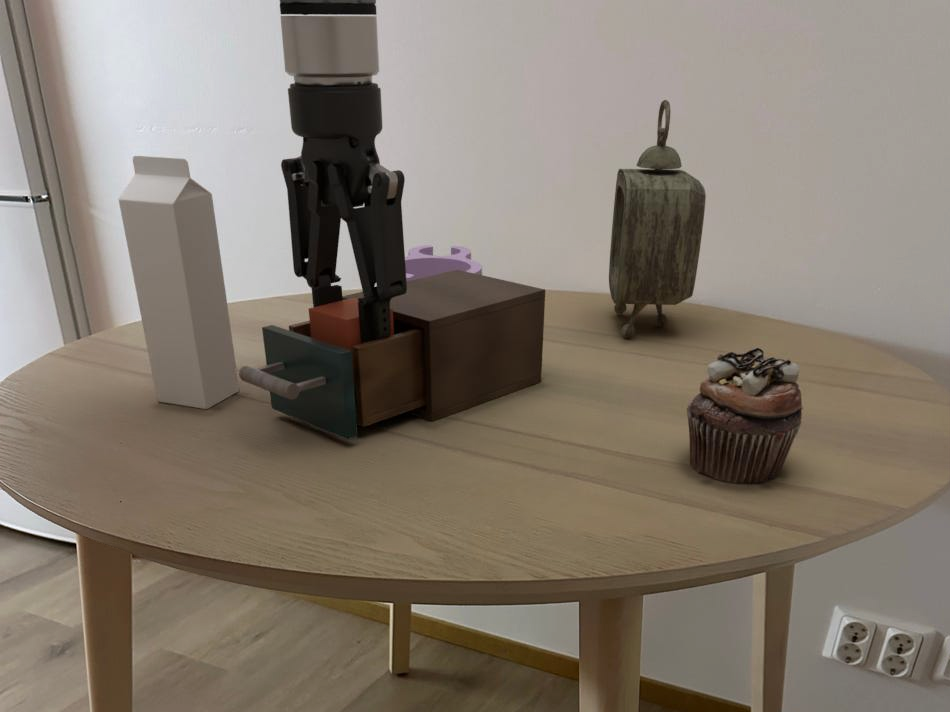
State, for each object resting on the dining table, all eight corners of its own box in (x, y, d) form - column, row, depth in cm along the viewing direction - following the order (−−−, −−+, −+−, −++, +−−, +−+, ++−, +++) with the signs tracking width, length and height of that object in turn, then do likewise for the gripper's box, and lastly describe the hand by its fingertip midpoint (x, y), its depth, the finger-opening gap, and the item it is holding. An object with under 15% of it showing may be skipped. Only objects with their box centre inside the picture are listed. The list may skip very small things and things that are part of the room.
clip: (398, 297, 129) (396, 244, 125) (487, 299, 128) (488, 246, 124) (375, 338, 112) (372, 279, 108) (477, 341, 112) (477, 281, 108)
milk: (192, 384, 98) (153, 151, 86) (241, 391, 96) (208, 155, 84) (156, 402, 93) (109, 158, 81) (206, 410, 92) (166, 162, 79)
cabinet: (431, 422, 90) (429, 321, 84) (347, 391, 97) (340, 296, 91) (541, 381, 100) (545, 289, 94) (457, 356, 107) (457, 269, 101)
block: (314, 367, 88) (308, 308, 85) (358, 354, 91) (353, 297, 88) (351, 380, 85) (347, 319, 82) (395, 367, 88) (392, 307, 85)
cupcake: (812, 466, 81) (837, 352, 76) (752, 499, 76) (775, 378, 70) (719, 436, 87) (737, 328, 81) (657, 464, 81) (672, 351, 76)
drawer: (308, 453, 81) (298, 365, 76) (232, 420, 87) (220, 337, 83) (466, 397, 93) (466, 318, 88) (389, 372, 99) (386, 297, 95)
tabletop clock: (605, 311, 124) (623, 95, 110) (672, 312, 124) (699, 96, 110) (613, 342, 112) (635, 104, 98) (688, 344, 112) (721, 106, 98)
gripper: (447, 83, 72) (451, 377, 85) (299, 73, 82) (323, 336, 95) (375, 87, 67) (391, 397, 80) (228, 77, 78) (264, 352, 91)
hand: (354, 364), depth 88 cm, fingers closed on block, 5 cm apart
